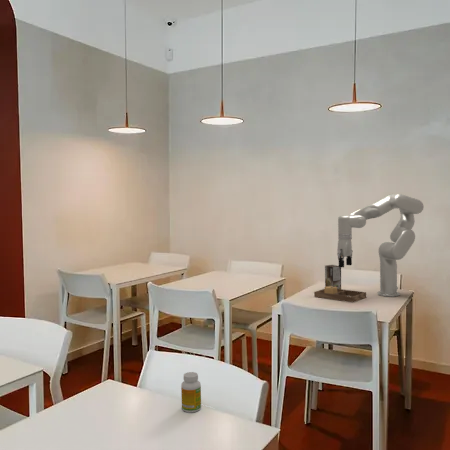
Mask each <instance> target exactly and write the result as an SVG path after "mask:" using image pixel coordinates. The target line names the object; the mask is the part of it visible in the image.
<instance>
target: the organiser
mask: <svg viewBox="0 0 450 450" xmlns="http://www.w3.org/2000/svg"><path fill="white" fill-rule="evenodd" d="M313 296H314V298H320V299H327V300H335V301H341V302H346V303H347V302H348V303H355V302H358V301H361V300H363V299H366V298H367V291H366V292H365V291H356V290H351V289H350V290H349V289H342V288H341V289H337V293H335V294H329V293H325V288H323V289H320V290H316V291H314V292H313Z"/></svg>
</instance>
